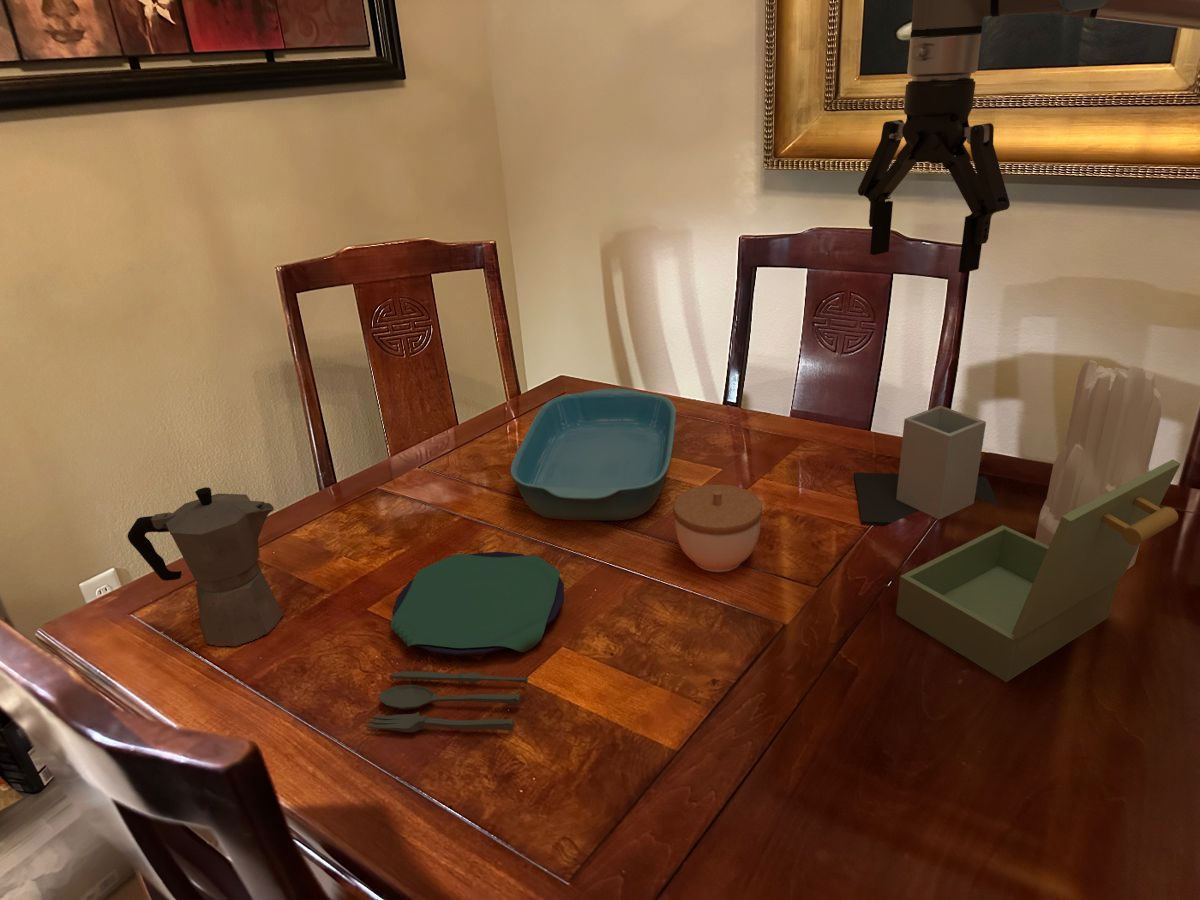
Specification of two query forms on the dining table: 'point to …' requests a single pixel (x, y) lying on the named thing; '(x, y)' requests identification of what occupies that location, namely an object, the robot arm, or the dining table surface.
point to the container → (940, 461)
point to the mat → (881, 495)
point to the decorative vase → (1102, 441)
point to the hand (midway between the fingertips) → (921, 261)
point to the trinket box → (717, 525)
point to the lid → (1097, 545)
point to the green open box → (992, 603)
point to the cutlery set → (469, 626)
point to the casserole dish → (596, 455)
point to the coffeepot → (218, 563)
